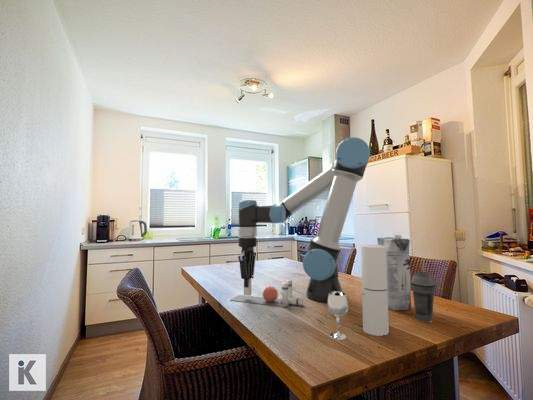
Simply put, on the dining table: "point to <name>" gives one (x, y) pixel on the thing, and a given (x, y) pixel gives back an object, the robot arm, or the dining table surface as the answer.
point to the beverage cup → (423, 295)
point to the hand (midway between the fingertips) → (247, 294)
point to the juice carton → (397, 272)
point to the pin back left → (285, 294)
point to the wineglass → (337, 310)
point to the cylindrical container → (374, 289)
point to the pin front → (294, 301)
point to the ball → (270, 294)
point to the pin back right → (289, 288)
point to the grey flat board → (256, 300)
